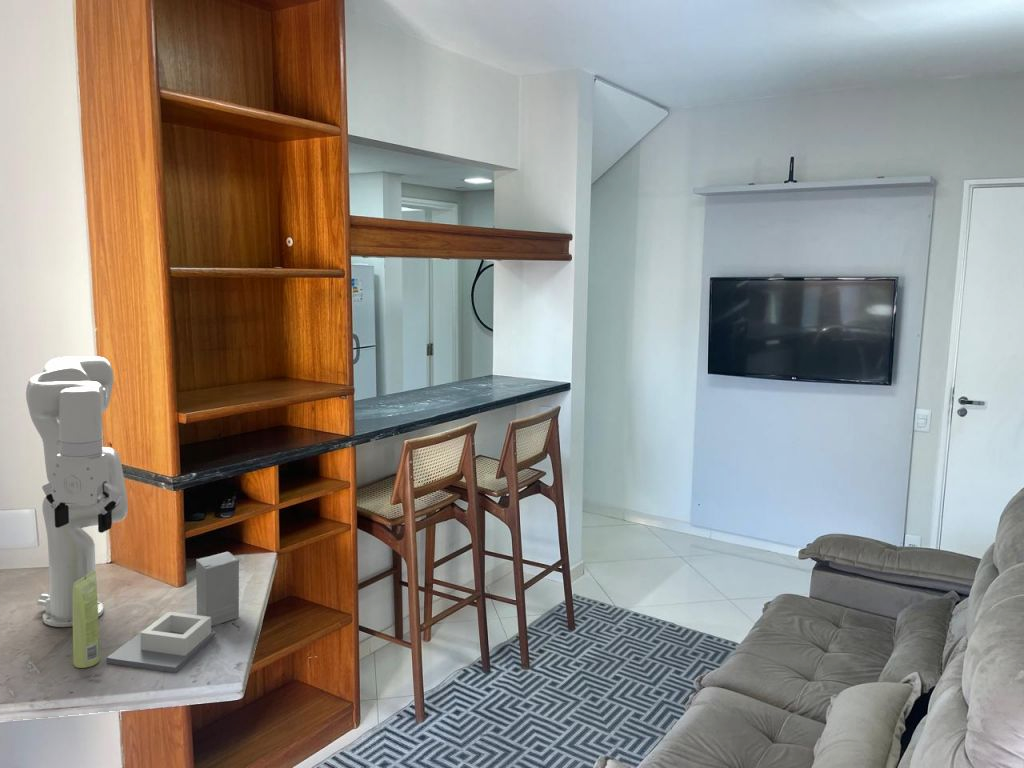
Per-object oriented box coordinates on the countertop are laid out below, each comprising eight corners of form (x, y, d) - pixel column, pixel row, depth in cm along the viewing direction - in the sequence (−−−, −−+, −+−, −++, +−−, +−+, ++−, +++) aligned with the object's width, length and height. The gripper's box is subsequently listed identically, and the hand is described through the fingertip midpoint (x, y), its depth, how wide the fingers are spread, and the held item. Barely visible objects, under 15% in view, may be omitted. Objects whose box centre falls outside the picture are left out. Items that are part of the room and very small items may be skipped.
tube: (70, 659, 159) (68, 573, 156) (97, 653, 162) (95, 568, 160) (75, 671, 155) (73, 583, 152) (102, 664, 158) (100, 578, 155)
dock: (106, 662, 159) (105, 640, 158) (152, 628, 175) (151, 607, 174) (175, 672, 157) (175, 649, 156) (215, 636, 173) (215, 615, 172)
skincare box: (228, 609, 186) (228, 549, 184) (240, 620, 181) (241, 558, 179) (194, 618, 180) (194, 557, 178) (206, 630, 175) (206, 566, 173)
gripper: (28, 448, 149) (31, 529, 151) (108, 456, 147) (109, 538, 149) (56, 440, 156) (58, 518, 159) (132, 447, 154) (133, 526, 157)
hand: (83, 528), depth 154 cm, fingers open, 9 cm apart
